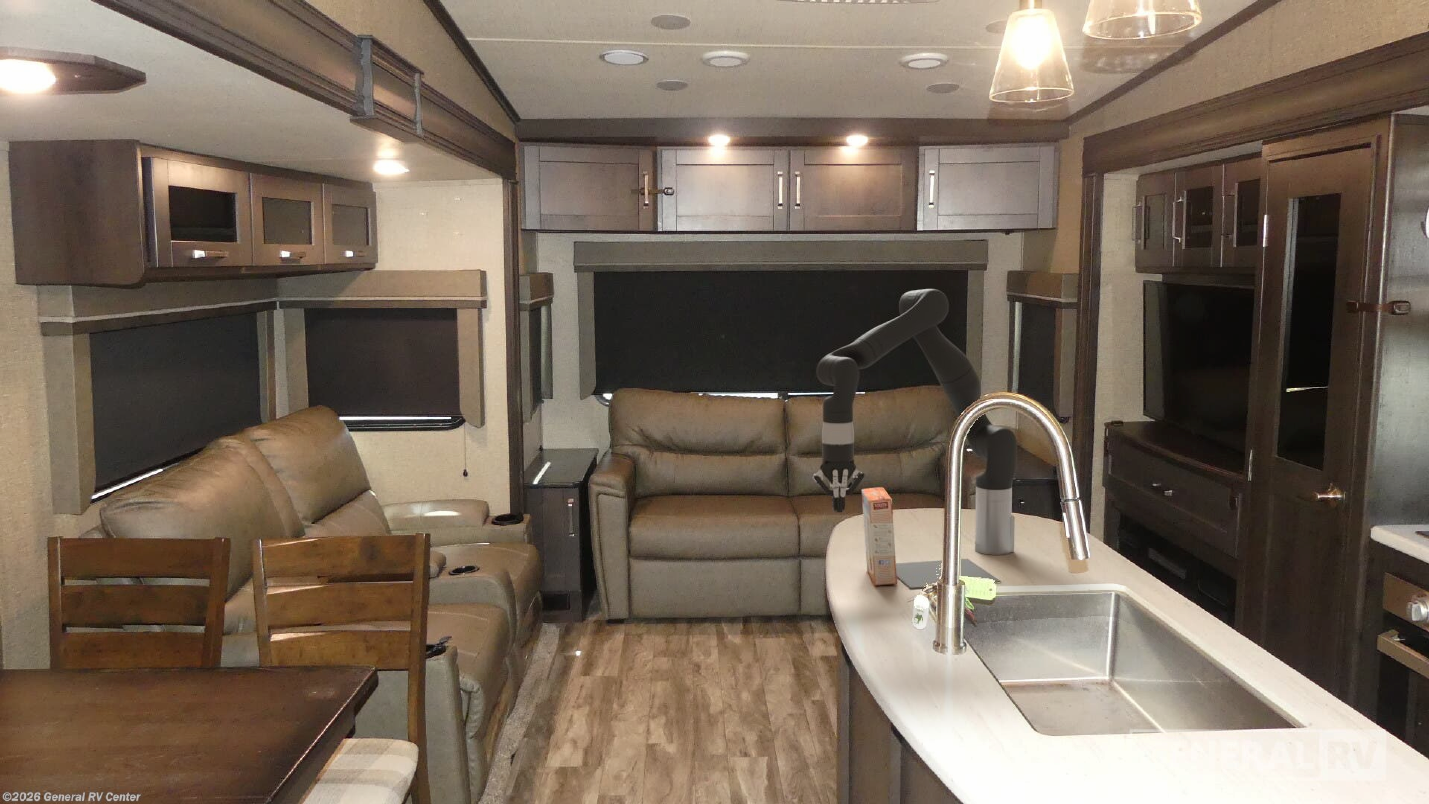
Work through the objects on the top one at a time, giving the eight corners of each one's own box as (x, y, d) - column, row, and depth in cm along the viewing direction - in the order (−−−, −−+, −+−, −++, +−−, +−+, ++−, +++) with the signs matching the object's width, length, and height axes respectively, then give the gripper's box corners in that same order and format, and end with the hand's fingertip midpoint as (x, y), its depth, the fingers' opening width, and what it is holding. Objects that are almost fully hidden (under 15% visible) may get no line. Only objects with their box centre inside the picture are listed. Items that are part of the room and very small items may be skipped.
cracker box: (899, 584, 252) (892, 498, 249) (873, 586, 252) (866, 500, 249) (890, 567, 265) (884, 485, 263) (866, 569, 266) (860, 488, 263)
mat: (967, 560, 273) (967, 558, 273) (1000, 582, 253) (1001, 581, 253) (883, 565, 269) (883, 564, 269) (910, 589, 249) (910, 587, 249)
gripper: (860, 436, 257) (860, 507, 259) (807, 439, 255) (807, 510, 257) (869, 441, 250) (869, 513, 252) (815, 444, 248) (815, 517, 250)
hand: (838, 511), depth 255 cm, fingers closed
